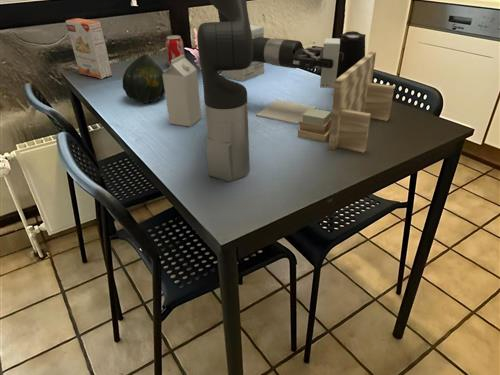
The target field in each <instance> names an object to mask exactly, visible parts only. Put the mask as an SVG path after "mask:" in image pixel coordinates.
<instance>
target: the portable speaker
mask: <svg viewBox="0 0 500 375" xmlns="http://www.w3.org/2000/svg"><path fill="white" fill-rule="evenodd" d="M366 35H367V34H363V33H360V32H358V31H354V30H351V31H346V32H344V33H342V34H340V35H339V39H340V49H339V52H342V53H343V54H344V56H343V60H342V61H338V68H337V76H336V79H337V78H339V77H340V76H341V75H342V74H344V73H345V72H346V71H347V70H349V69H350V68H351V67H352V66H354V65H355V64H356V63H357V62H359V61H360V60H361V59H362V58H364V57H365V56H366Z"/></svg>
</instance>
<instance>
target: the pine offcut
mask: <svg viewBox="0 0 500 375" xmlns="http://www.w3.org/2000/svg"><path fill="white" fill-rule="evenodd" d="M330 129H331V128H330ZM330 129H329V130H328V131H327V132H326V134H325V135H321V134H316V133H312V132H307V131H302V130H300V128H299V129H297V137H298V138H301V139H304V140H305V139H306V140H310V141H311V140H312V141H315V142H318V143H319V142H320V143H324V144H326V143H327V141H328V140H330Z"/></svg>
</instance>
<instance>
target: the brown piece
mask: <svg viewBox="0 0 500 375" xmlns="http://www.w3.org/2000/svg"><path fill="white" fill-rule="evenodd" d="M376 56H377V52H376V51H370V52H369V53H367V54H365V57H364V58H362V59H361V60H360V61H359V62H357V63H356V64H355V65H354V66H352V67H351V68H350V69H349V70H347V71H346V72H345V73H344V74H342V75H341V76H340V77H339V78H337V79H336V80H335V84H334V88H333V96H332V98H333V99H332V107H331V110H332V111H331V117H330V118H331V129H330V138H329V139H328V140H329V142H328V150H331V151H335V150H336V149H337V148H341V149H345V150H348V151H349V150H351V151H355V152H359V153H362V154H364V153H365V152H366V150H367V143H368V136H369V131H370V130H369V129H370V124H371V119H374V120H380V121H385V122H389V119H390V114H391V108H392V103H393V97H394V93H395V92H394V91H395V86H396V85H391V84H384V83H377V82H373V76H374V69H375V62H376Z"/></svg>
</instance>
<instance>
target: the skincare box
mask: <svg viewBox="0 0 500 375" xmlns="http://www.w3.org/2000/svg"><path fill="white" fill-rule="evenodd" d="M322 47H323V58H325V59H332V60H333V61H334V62H333V67H332V68H324V67H321V69H320V70H321V73H320V84H319V87H320V88H325V89H326V88H327V89H334V84H335V80H336V76H337V68H338V58H339V49H340V38H335V37H334V38H333V37H332V38H331V37H327V38H324V41H323V46H322Z"/></svg>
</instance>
